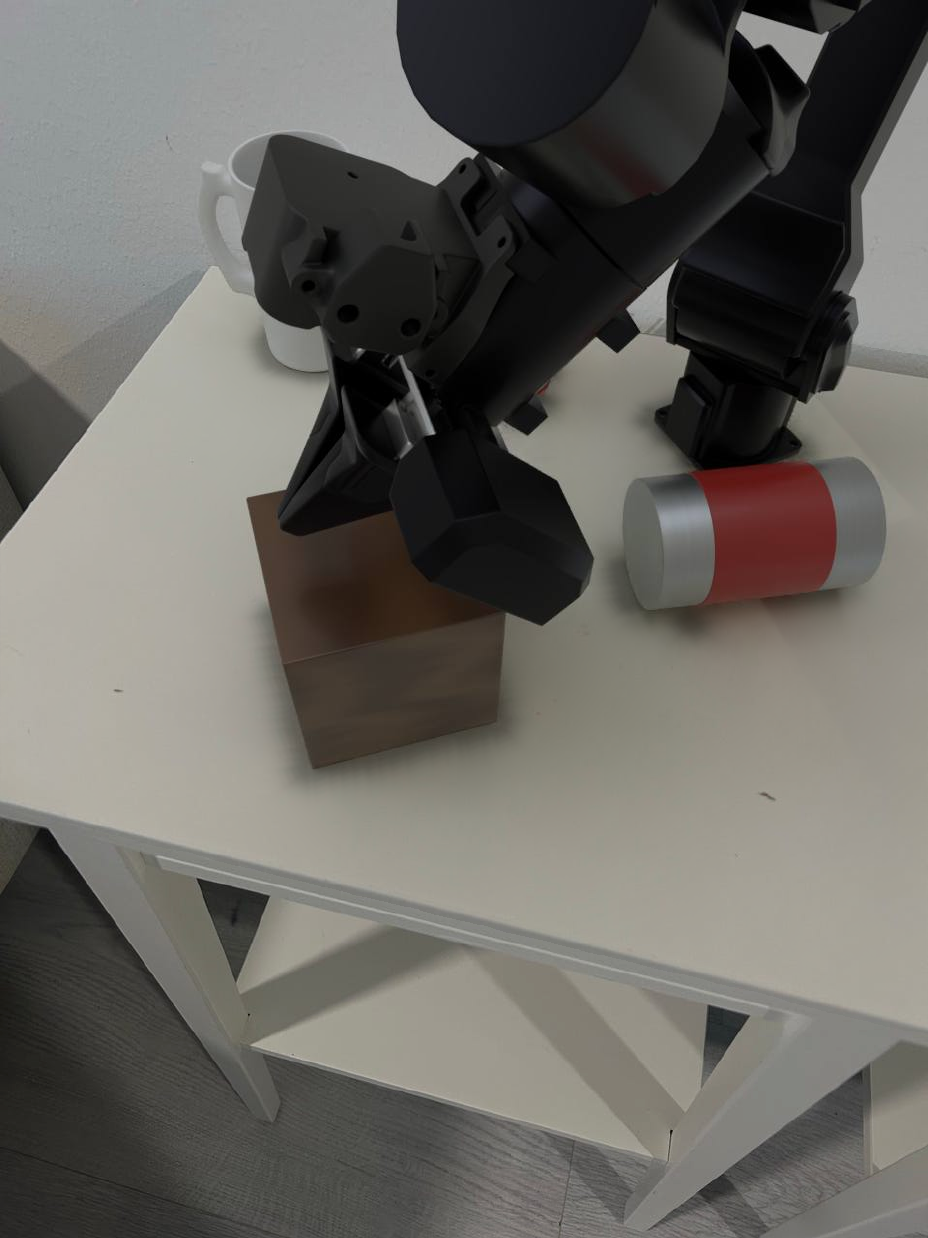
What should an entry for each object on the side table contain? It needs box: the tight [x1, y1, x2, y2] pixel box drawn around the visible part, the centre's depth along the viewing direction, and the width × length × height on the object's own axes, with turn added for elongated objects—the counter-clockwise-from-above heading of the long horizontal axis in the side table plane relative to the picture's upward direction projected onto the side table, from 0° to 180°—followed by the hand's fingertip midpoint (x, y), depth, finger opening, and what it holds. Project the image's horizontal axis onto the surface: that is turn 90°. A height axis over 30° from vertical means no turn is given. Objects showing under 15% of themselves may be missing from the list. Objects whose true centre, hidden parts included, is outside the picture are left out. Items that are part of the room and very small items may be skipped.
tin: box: [622, 456, 887, 611], centre depth 46 cm, size 7×7×11 cm
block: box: [245, 489, 507, 769], centre depth 42 cm, size 9×9×9 cm
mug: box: [196, 129, 352, 373], centre depth 55 cm, size 10×7×12 cm, turn 72°
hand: (287, 526), depth 36 cm, fingers closed
